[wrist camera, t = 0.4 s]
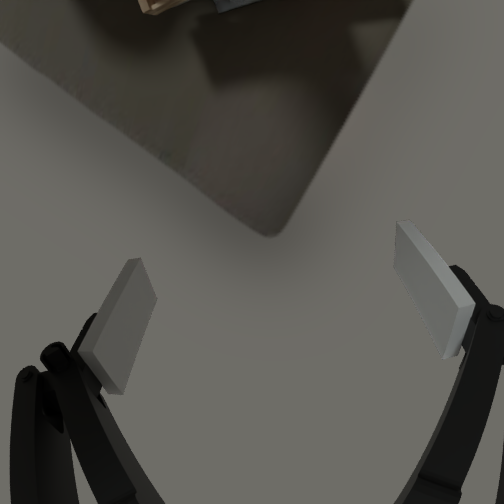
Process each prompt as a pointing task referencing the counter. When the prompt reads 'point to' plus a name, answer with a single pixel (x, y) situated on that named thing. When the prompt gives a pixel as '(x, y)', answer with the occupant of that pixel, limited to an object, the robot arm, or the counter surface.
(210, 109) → the counter surface
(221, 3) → the fulcrum
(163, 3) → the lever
